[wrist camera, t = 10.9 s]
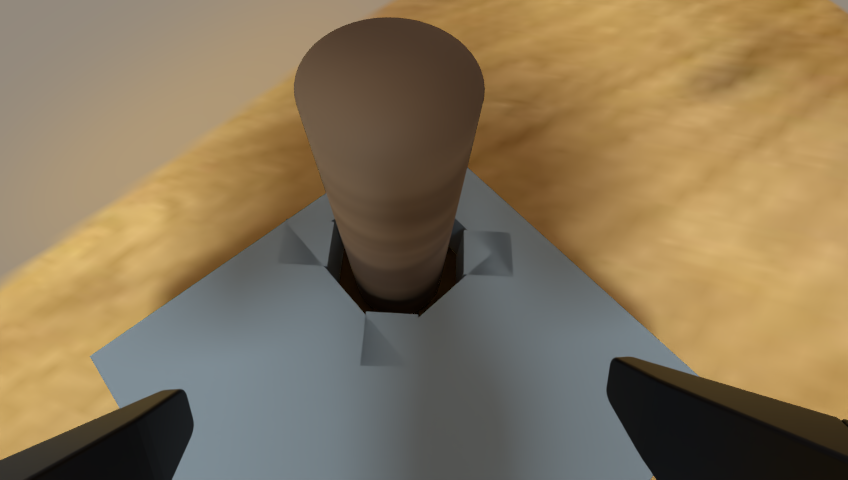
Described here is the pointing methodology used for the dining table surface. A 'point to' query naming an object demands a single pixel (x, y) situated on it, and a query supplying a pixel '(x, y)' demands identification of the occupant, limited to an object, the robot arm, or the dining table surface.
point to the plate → (393, 362)
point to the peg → (391, 148)
